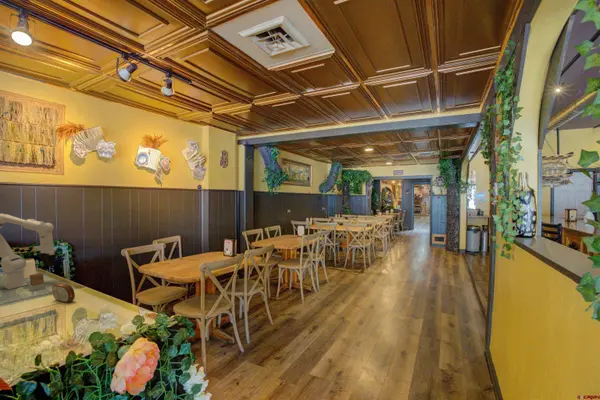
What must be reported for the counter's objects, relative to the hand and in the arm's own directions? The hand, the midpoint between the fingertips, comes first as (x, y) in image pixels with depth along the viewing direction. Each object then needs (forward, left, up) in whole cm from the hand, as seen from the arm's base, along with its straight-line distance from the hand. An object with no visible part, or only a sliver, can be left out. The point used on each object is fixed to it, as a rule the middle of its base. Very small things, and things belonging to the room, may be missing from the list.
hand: (48, 265), depth 167 cm
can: (-30, -2, -11) cm, 32 cm away
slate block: (+7, -8, -11) cm, 15 cm away
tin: (+46, -8, -11) cm, 47 cm away
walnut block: (+7, -8, -8) cm, 13 cm away
